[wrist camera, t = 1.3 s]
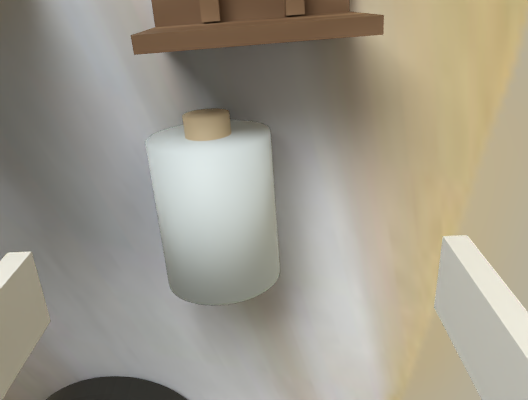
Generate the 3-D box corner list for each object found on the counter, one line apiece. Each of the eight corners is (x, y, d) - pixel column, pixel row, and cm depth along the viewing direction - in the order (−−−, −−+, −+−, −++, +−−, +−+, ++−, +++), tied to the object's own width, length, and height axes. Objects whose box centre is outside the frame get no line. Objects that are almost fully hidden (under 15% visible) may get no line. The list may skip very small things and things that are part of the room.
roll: (285, 261, 34) (276, 323, 28) (187, 262, 35) (157, 322, 29) (274, 98, 30) (260, 126, 24) (163, 103, 31) (121, 132, 25)
